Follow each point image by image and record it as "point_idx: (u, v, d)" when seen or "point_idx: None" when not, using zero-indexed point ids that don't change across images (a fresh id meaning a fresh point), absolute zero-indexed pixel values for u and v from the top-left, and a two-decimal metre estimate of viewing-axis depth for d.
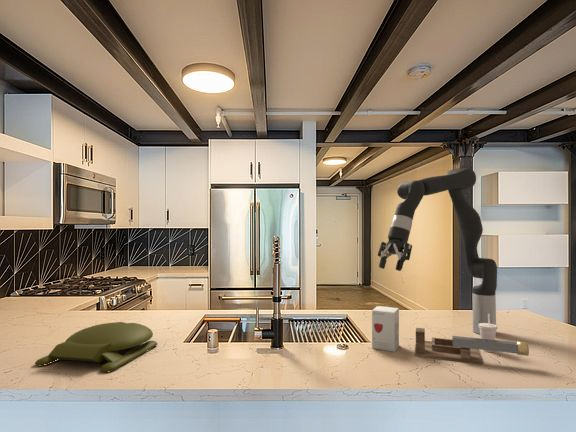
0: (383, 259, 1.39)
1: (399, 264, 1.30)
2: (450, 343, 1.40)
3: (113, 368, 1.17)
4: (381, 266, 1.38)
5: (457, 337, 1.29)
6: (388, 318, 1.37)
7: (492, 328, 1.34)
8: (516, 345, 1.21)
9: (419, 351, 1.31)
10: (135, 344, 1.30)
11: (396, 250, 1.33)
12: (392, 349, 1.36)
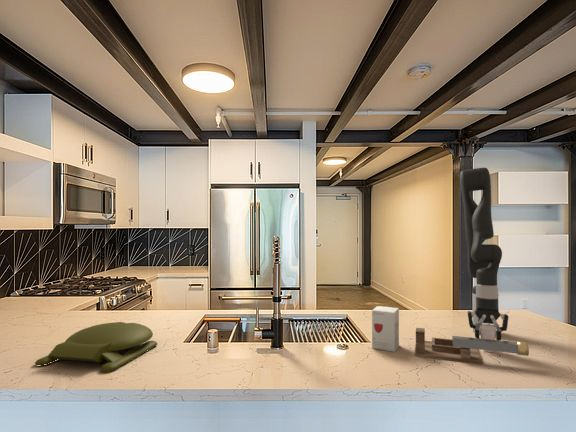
0: (479, 330, 1.38)
1: (500, 336, 1.35)
2: (450, 343, 1.40)
3: (113, 368, 1.17)
4: None
5: (457, 337, 1.29)
6: (388, 318, 1.37)
7: (492, 328, 1.34)
8: (516, 345, 1.21)
9: (419, 351, 1.31)
10: (135, 344, 1.30)
11: (495, 322, 1.35)
12: (392, 349, 1.36)
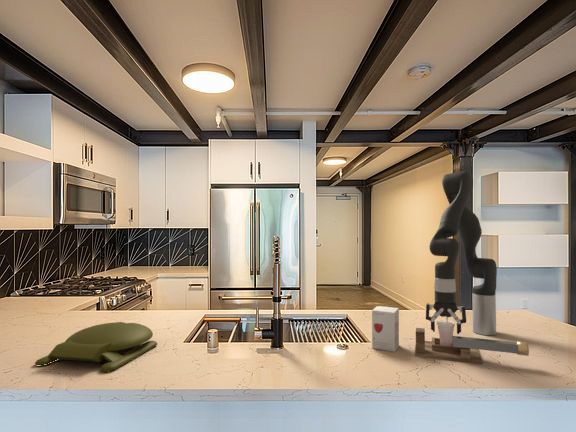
0: (434, 322, 1.38)
1: (460, 328, 1.35)
2: None
3: (113, 368, 1.18)
4: (434, 330, 1.38)
5: (457, 337, 1.29)
6: (388, 318, 1.37)
7: (449, 325, 1.34)
8: (516, 345, 1.21)
9: (419, 351, 1.31)
10: (135, 344, 1.30)
11: (453, 315, 1.35)
12: (392, 349, 1.36)
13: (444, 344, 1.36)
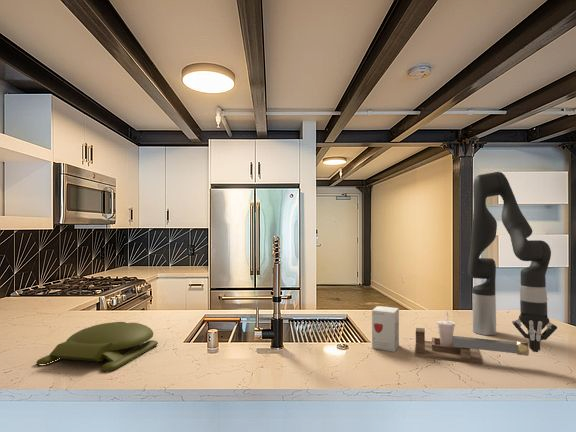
0: None
1: (538, 346, 1.19)
2: None
3: (114, 367, 1.18)
4: None
5: (456, 337, 1.29)
6: (388, 318, 1.37)
7: (449, 325, 1.34)
8: (516, 345, 1.21)
9: (419, 351, 1.31)
10: (136, 343, 1.31)
11: (539, 330, 1.19)
12: (392, 349, 1.36)
13: (444, 344, 1.36)
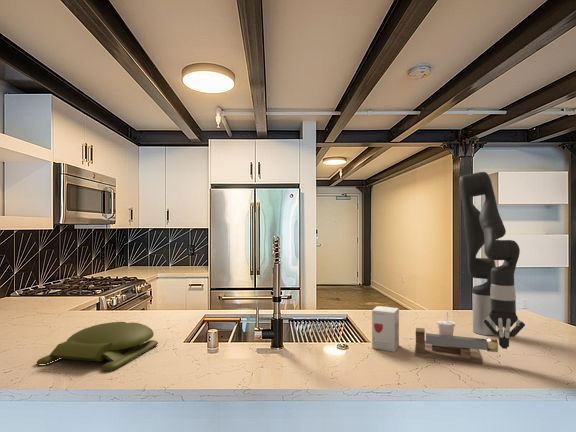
0: None
1: (507, 342, 1.23)
2: None
3: (114, 367, 1.18)
4: None
5: (430, 334, 1.32)
6: (388, 318, 1.37)
7: (449, 325, 1.34)
8: (486, 342, 1.24)
9: (419, 351, 1.31)
10: (136, 343, 1.31)
11: (508, 327, 1.22)
12: (392, 349, 1.36)
13: None
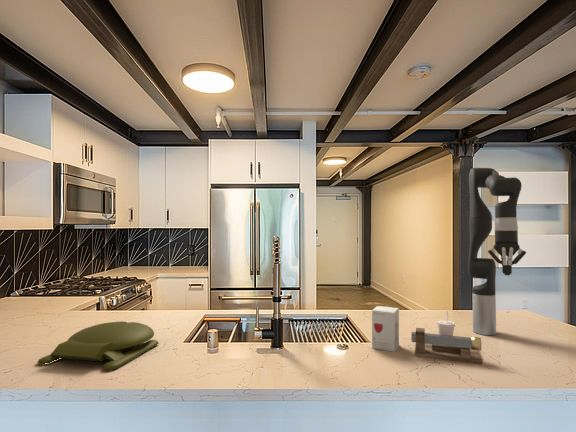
0: None
1: (510, 269, 1.35)
2: None
3: (115, 367, 1.19)
4: None
5: (415, 333, 1.34)
6: (388, 318, 1.37)
7: (449, 325, 1.34)
8: (470, 340, 1.26)
9: (419, 351, 1.31)
10: (137, 343, 1.31)
11: (510, 255, 1.35)
12: (392, 349, 1.36)
13: None
